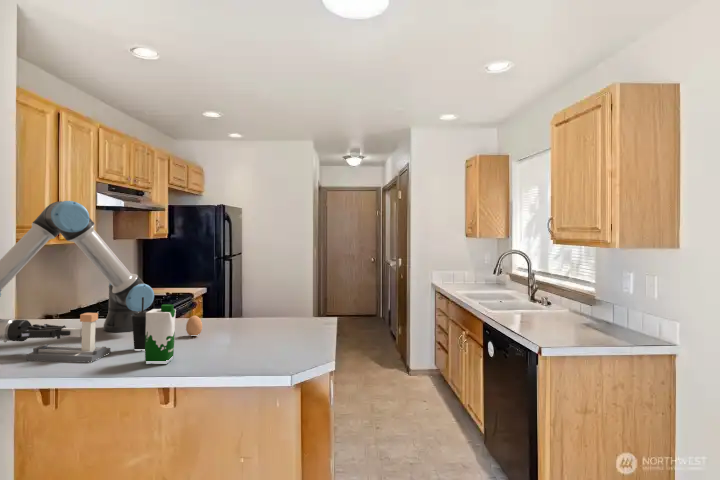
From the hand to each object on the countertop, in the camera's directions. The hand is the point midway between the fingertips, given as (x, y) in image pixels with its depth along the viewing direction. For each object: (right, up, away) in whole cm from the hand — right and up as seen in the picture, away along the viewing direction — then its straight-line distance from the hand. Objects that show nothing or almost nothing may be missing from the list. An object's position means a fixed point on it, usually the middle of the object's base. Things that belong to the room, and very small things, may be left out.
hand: (81, 332), depth 165 cm
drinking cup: (+15, -9, +13) cm, 22 cm away
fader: (+2, -7, 0) cm, 7 cm away
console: (-4, -8, 0) cm, 9 cm away
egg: (+27, -9, +37) cm, 46 cm away
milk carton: (+28, -10, -2) cm, 30 cm away
